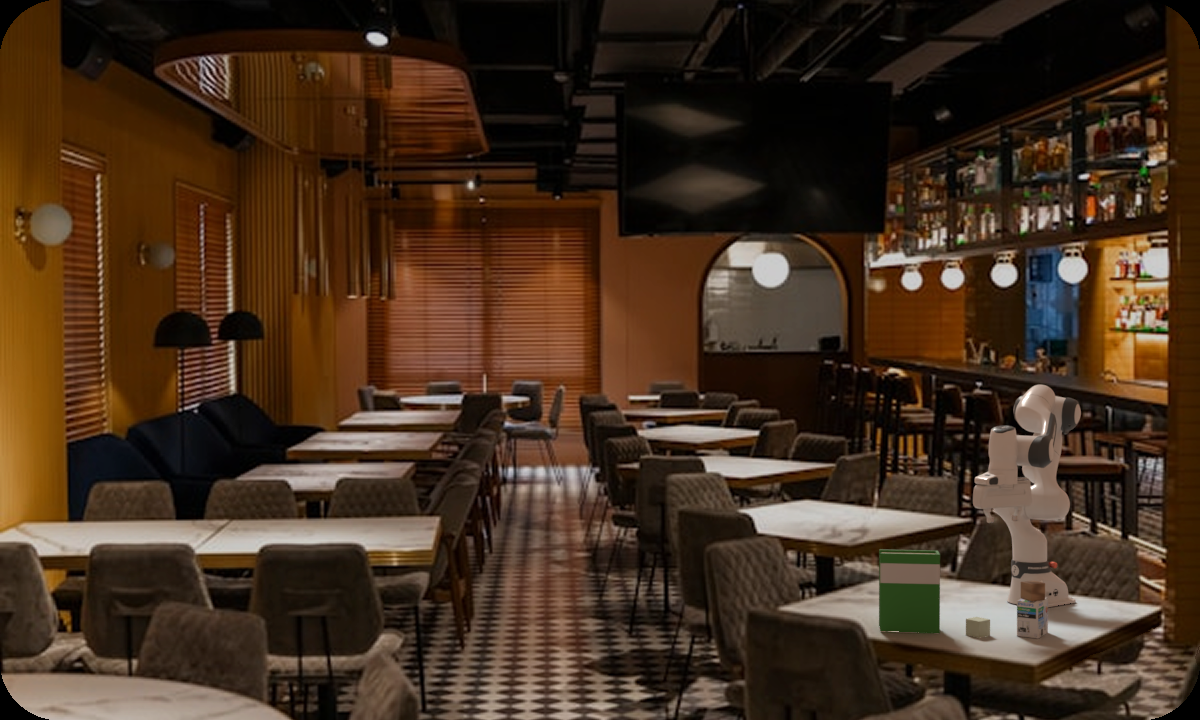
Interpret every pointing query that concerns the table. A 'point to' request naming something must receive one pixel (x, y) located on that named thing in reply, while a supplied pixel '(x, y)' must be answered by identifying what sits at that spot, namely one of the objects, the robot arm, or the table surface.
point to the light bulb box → (1032, 618)
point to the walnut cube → (1032, 590)
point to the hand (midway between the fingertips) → (1002, 521)
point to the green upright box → (909, 591)
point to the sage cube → (977, 627)
